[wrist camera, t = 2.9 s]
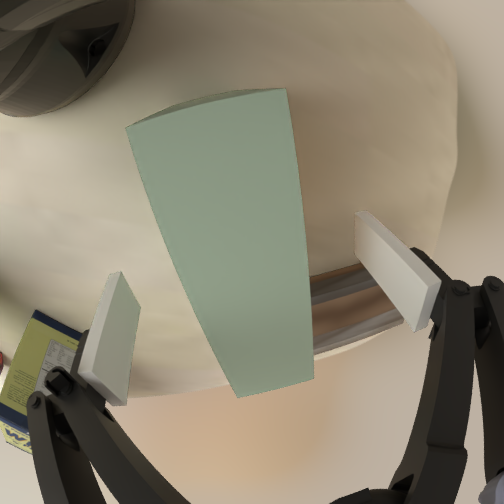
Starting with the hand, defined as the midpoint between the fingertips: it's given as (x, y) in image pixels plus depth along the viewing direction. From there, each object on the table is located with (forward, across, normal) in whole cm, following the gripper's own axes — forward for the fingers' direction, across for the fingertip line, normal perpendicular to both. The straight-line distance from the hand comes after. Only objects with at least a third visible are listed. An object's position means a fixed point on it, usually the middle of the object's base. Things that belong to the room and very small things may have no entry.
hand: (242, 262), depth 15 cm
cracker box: (+10, 0, 0) cm, 11 cm away
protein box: (+11, -29, -16) cm, 35 cm away
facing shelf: (+11, +8, -17) cm, 21 cm away
